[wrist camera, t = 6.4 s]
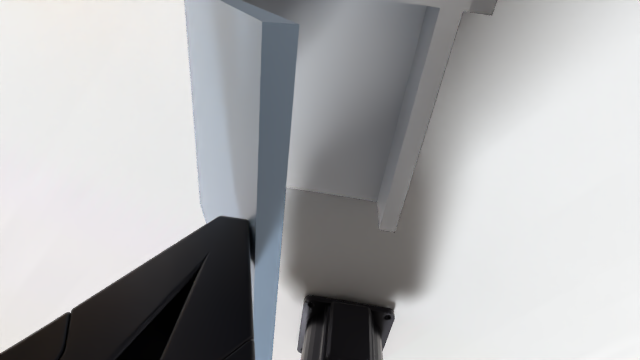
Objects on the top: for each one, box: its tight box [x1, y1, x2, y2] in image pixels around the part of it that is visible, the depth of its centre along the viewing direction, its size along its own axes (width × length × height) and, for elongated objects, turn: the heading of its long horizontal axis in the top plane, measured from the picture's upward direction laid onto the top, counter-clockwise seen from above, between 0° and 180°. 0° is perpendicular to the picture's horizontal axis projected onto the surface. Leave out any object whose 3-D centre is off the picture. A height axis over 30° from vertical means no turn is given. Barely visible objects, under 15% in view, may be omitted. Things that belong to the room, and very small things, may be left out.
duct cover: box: [184, 0, 299, 360], centre depth 11 cm, size 9×9×1 cm
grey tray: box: [242, 0, 497, 232], centre depth 13 cm, size 19×12×3 cm, turn 173°
